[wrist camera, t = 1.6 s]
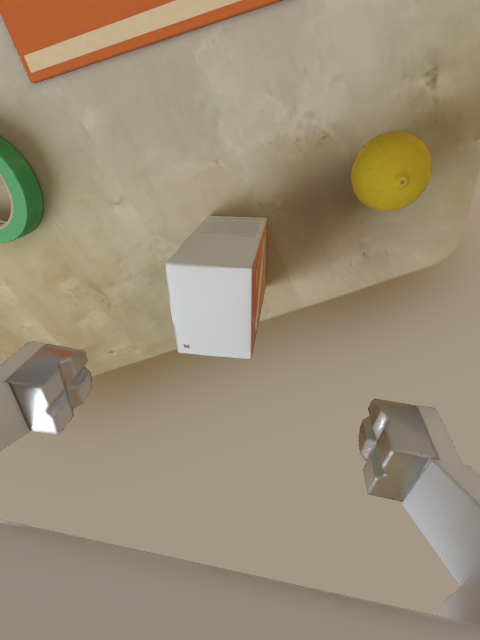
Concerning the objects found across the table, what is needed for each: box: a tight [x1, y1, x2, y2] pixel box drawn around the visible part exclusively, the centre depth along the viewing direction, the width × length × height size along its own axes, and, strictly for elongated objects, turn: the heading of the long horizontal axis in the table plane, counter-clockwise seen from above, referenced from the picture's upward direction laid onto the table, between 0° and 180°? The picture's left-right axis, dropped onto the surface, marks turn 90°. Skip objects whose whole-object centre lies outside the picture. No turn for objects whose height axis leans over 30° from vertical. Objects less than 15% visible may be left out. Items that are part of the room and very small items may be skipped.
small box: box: [166, 216, 268, 359], centre depth 29 cm, size 8×6×13 cm
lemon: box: [351, 131, 432, 211], centre depth 25 cm, size 6×6×8 cm
